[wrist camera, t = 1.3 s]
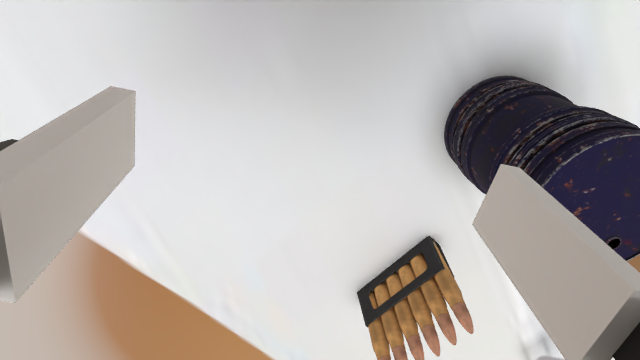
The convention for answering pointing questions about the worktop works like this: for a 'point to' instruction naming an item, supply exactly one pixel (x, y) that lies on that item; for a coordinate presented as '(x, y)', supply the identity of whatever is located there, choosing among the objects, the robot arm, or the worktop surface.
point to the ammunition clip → (413, 303)
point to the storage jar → (553, 153)
